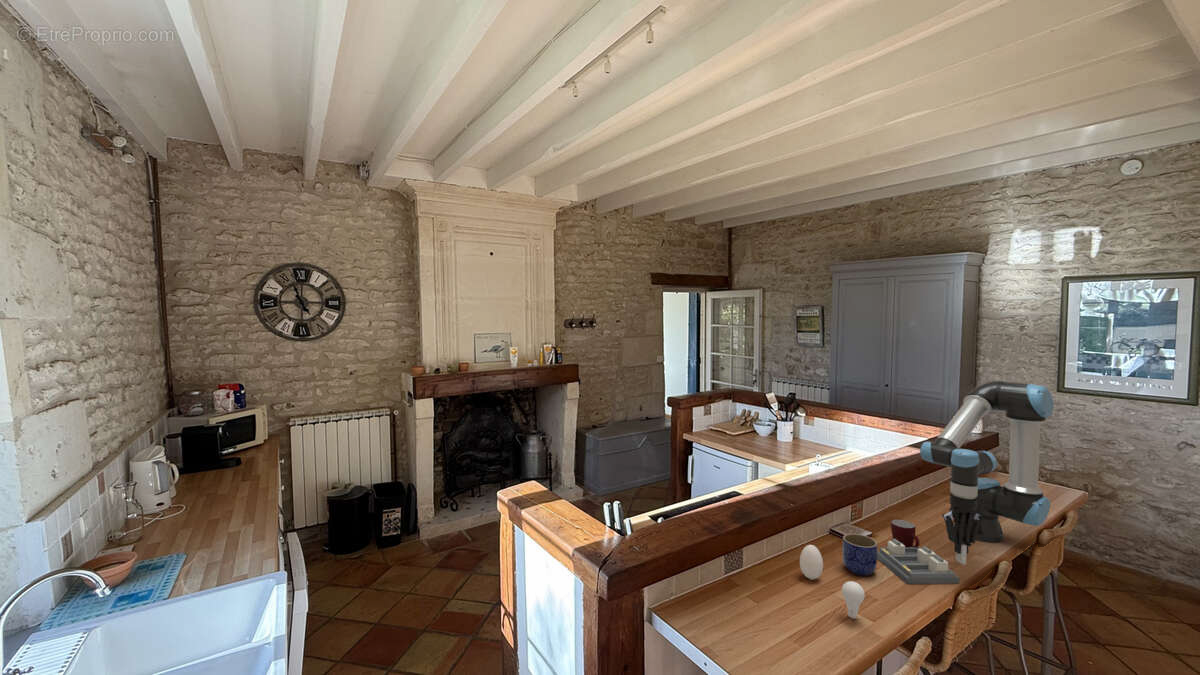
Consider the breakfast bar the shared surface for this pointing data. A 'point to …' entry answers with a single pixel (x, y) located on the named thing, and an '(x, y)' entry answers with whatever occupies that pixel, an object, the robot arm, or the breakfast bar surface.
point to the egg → (811, 562)
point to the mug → (904, 532)
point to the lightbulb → (853, 597)
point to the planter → (859, 553)
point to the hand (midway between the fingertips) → (960, 562)
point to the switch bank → (914, 568)
